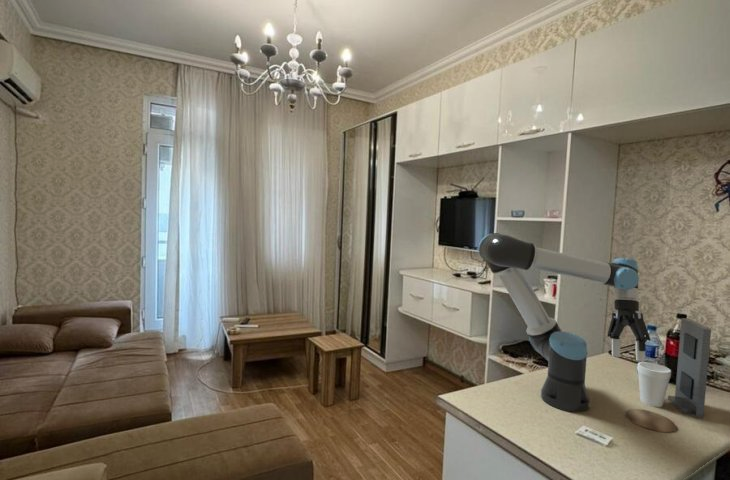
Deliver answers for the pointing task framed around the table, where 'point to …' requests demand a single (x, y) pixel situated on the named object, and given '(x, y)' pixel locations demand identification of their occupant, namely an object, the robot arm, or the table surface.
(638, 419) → the coaster
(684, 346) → the post
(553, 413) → the table surface
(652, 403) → the foam cup
